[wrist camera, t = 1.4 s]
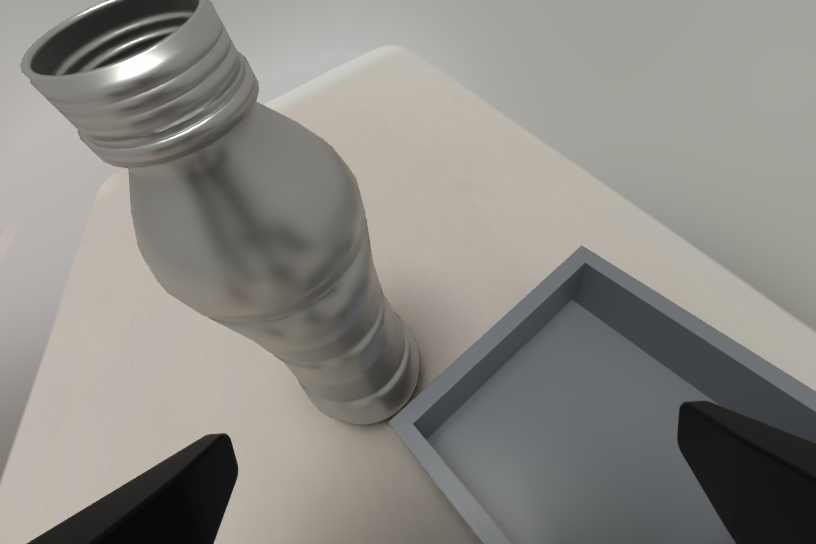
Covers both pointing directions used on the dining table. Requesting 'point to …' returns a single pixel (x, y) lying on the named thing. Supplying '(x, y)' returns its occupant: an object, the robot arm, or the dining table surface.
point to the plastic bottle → (232, 196)
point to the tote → (589, 414)
